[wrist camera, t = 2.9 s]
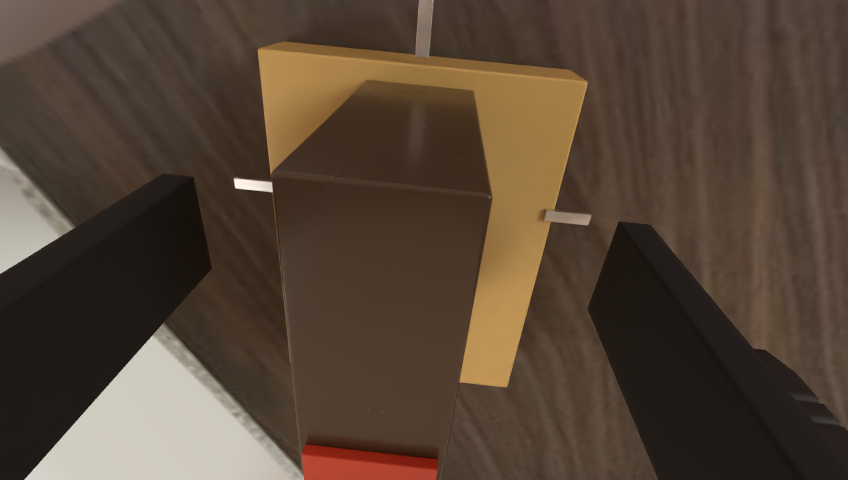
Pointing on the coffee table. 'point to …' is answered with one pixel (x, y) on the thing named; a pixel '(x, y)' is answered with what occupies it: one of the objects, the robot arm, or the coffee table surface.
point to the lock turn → (381, 277)
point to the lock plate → (503, 144)
